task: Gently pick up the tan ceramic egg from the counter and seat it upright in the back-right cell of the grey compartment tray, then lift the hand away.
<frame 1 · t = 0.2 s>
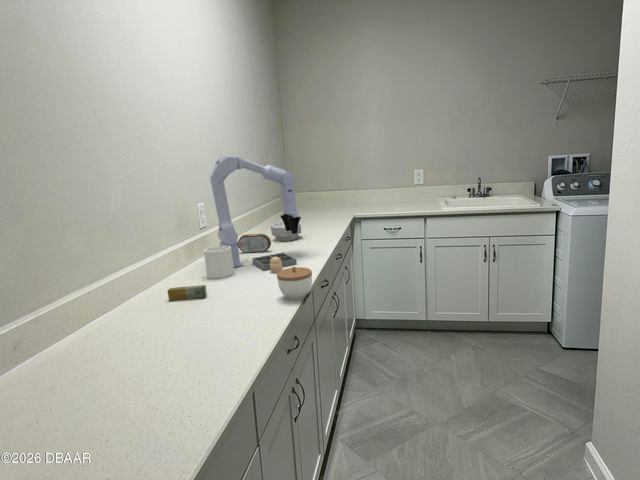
hand: (291, 232, 182), 10 cm above the counter, tool pointing down, fingers open, 7 cm apart
medication box: (188, 299, 138), on the counter
lidded jar: (296, 296, 132), on the counter
egg: (276, 271, 160), on the counter
paper bowls: (287, 239, 218), on the counter
grey compartment tray: (274, 263, 171), on the counter
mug: (222, 274, 163), on the counter
tin: (255, 252, 195), on the counter
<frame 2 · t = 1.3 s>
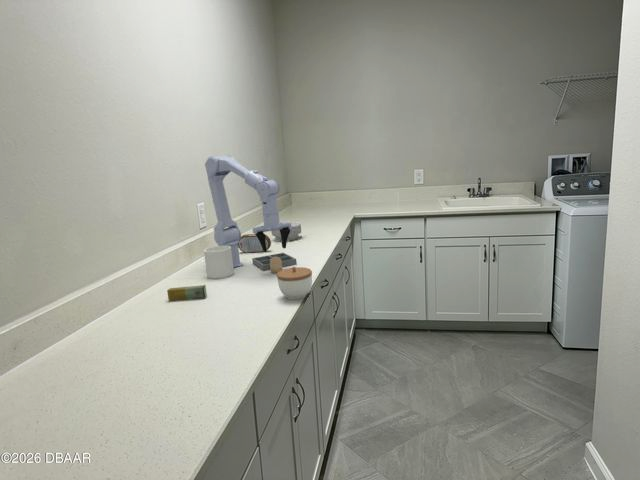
hand: (274, 249, 159), 8 cm above the counter, tool pointing down, fingers open, 7 cm apart
nothing on the counter moved.
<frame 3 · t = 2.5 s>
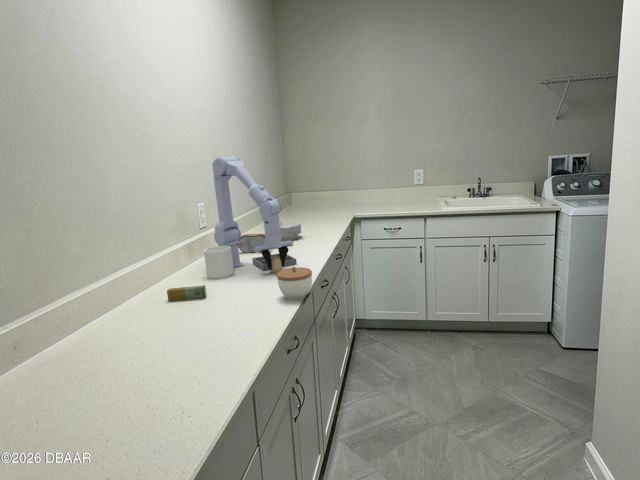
hand: (276, 267, 160), 1 cm above the counter, tool pointing down, fingers closed on egg, 4 cm apart
egg: (276, 271, 160), on the counter, touching gripper
everything else where it was.
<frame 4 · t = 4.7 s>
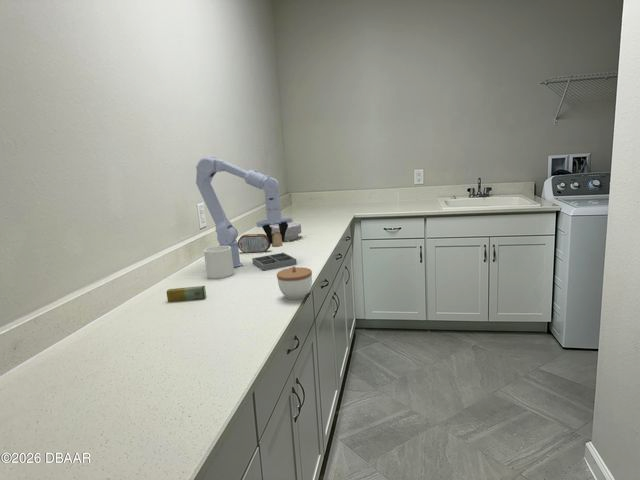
hand: (276, 242, 172), 8 cm above the counter, tool pointing down, fingers closed on egg, 4 cm apart
egg: (277, 245, 172), point 7 cm above the counter, touching gripper
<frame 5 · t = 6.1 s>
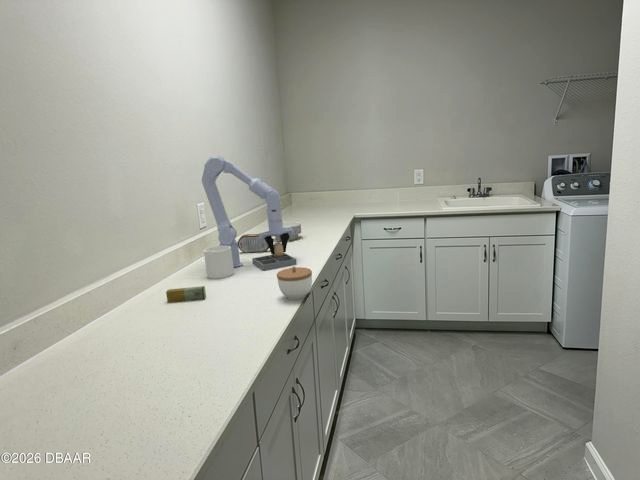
hand: (278, 252, 175), 3 cm above the counter, tool pointing down, fingers closed on egg, 4 cm apart
egg: (278, 256, 175), point 2 cm above the counter, touching gripper
when the fingers open (3 cm above the counter, at t = 7.1 s): egg drops 1 cm, resting on grey compartment tray.
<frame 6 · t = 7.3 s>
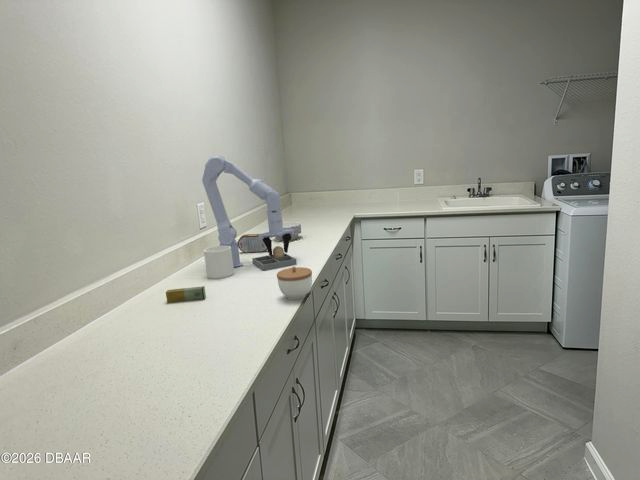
hand: (278, 253, 175), 3 cm above the counter, tool pointing down, fingers open, 6 cm apart
egg: (279, 259, 176), resting on grey compartment tray
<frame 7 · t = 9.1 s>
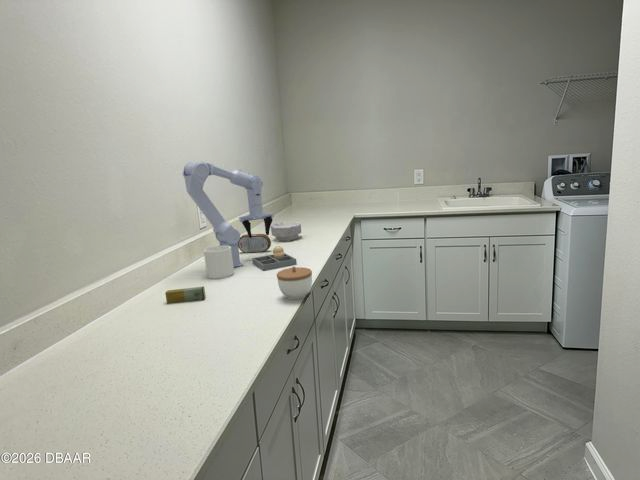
hand: (258, 236, 181), 9 cm above the counter, tool pointing down, fingers open, 7 cm apart
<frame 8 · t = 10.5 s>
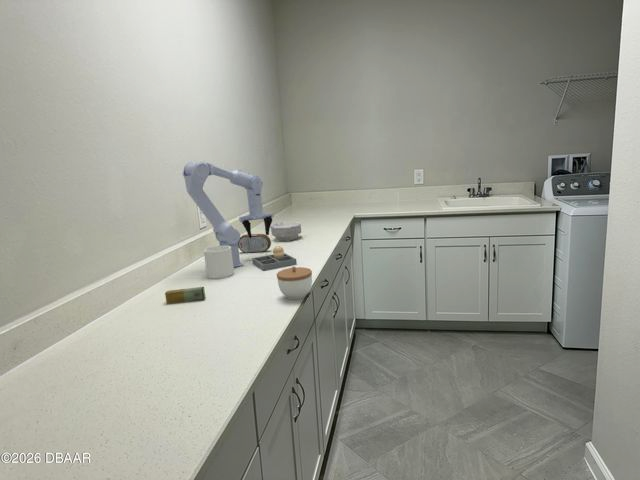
hand: (258, 236, 181), 9 cm above the counter, tool pointing down, fingers open, 7 cm apart
at the end: egg 0.0 cm from the target spot on the grey compartment tray, point 0.4 cm above the grey compartment tray's base; egg tilted 0°; the gripper is holding nothing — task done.
